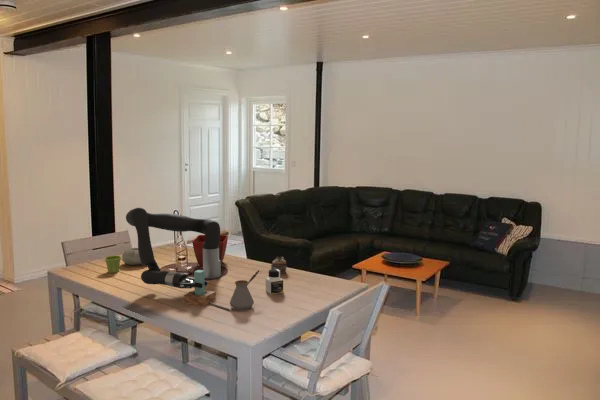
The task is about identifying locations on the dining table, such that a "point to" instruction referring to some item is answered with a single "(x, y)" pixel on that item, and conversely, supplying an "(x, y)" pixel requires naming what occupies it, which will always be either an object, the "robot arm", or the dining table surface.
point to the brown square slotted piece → (199, 298)
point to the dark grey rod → (219, 306)
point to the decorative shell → (131, 257)
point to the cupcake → (279, 265)
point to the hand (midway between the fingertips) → (204, 284)
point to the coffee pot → (242, 295)
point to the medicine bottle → (274, 282)
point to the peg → (199, 278)
